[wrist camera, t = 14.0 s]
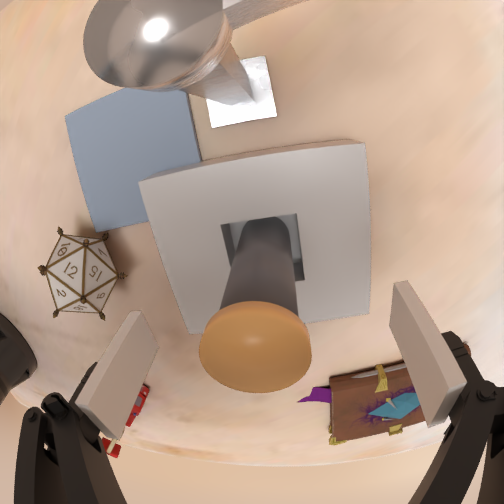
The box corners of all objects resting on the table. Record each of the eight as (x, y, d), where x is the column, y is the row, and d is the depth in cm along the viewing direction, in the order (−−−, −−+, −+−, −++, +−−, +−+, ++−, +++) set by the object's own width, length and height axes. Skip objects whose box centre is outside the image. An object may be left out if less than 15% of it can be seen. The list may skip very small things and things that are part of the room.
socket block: (198, 308, 29) (189, 334, 25) (157, 171, 23) (138, 182, 19) (358, 288, 27) (369, 313, 23) (349, 139, 21) (365, 143, 17)
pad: (99, 230, 26) (96, 232, 25) (68, 115, 21) (64, 116, 20) (212, 207, 24) (211, 209, 24) (182, 69, 19) (180, 68, 19)
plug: (241, 266, 25) (214, 393, 13) (231, 213, 23) (185, 320, 11) (297, 260, 25) (312, 389, 12) (291, 206, 23) (309, 310, 10)
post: (213, 127, 21) (108, 147, 7) (201, 70, 19) (87, 6, 5) (276, 116, 20) (287, 103, 6) (265, 57, 18) (250, -49, 4)
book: (292, 371, 34) (293, 401, 29) (464, 333, 30) (480, 355, 26) (302, 434, 40) (303, 459, 35) (440, 403, 36) (449, 424, 32)
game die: (115, 256, 31) (72, 328, 26) (66, 207, 26) (13, 283, 21) (159, 262, 26) (105, 355, 21) (97, 198, 20) (26, 302, 16)
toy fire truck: (152, 386, 36) (131, 441, 27) (131, 417, 41) (114, 461, 33) (131, 375, 35) (107, 429, 27) (114, 409, 41) (96, 451, 32)
